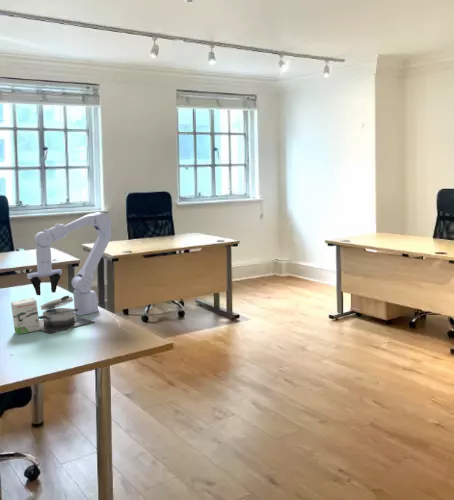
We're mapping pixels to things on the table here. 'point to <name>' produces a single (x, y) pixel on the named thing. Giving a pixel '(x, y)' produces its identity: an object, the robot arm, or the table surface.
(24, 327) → the ink box
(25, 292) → the table surface
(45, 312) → the cooking pot
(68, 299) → the lid
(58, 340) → the table surface
